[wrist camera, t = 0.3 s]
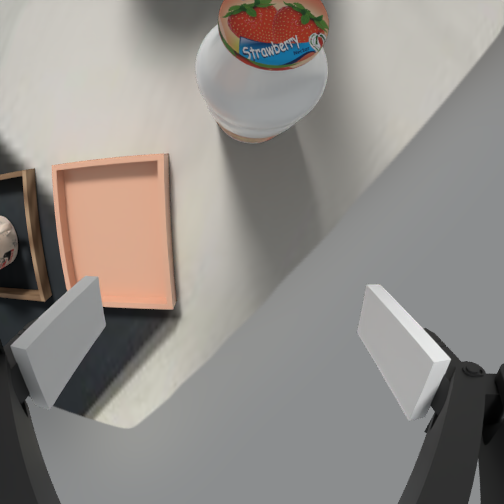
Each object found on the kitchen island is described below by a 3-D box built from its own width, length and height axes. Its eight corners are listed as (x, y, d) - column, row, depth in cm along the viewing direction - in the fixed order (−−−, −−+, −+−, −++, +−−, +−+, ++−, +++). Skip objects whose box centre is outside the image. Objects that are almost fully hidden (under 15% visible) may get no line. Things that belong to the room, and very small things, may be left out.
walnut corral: (-28, 181, 37) (-36, 183, 35) (34, 168, 38) (25, 169, 35) (-10, 290, 43) (-17, 295, 41) (51, 295, 44) (45, 301, 41)
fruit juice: (225, 152, 39) (193, 141, 12) (206, 85, 36) (148, -31, 9) (296, 134, 38) (403, 98, 12) (277, 68, 36) (338, -61, 9)
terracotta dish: (61, 164, 38) (51, 165, 35) (168, 153, 38) (163, 153, 36) (77, 297, 44) (70, 304, 41) (176, 300, 44) (173, 309, 42)
